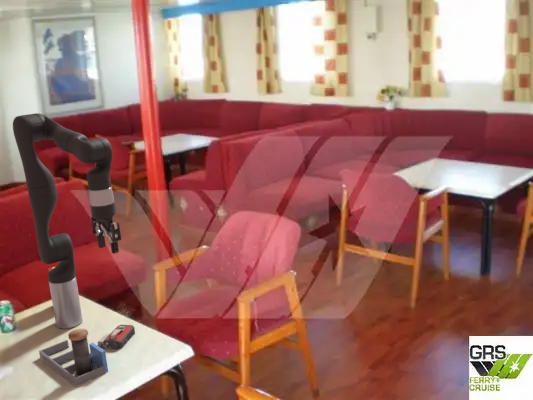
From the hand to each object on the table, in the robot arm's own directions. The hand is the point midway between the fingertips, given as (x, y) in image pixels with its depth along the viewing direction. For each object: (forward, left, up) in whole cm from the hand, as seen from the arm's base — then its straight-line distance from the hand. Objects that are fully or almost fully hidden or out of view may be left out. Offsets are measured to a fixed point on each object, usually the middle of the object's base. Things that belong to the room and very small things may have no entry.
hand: (108, 250), depth 204 cm
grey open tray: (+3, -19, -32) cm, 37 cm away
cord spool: (+11, -19, -32) cm, 39 cm away
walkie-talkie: (+1, -4, -33) cm, 33 cm away
